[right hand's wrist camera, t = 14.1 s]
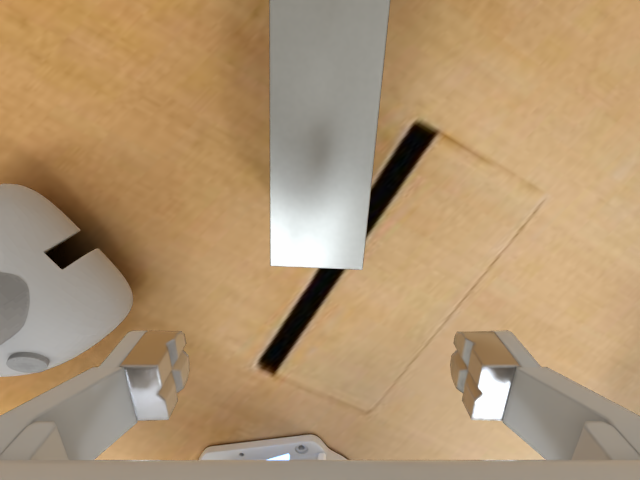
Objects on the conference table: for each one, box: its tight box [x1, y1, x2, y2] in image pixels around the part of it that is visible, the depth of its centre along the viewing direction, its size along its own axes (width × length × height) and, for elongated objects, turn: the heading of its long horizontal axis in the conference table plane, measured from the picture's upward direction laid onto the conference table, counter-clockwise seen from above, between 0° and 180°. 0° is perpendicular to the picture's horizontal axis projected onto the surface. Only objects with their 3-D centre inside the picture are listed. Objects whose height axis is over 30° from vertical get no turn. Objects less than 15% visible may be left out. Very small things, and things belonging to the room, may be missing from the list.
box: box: [269, 0, 390, 270], centre depth 25 cm, size 26×6×11 cm, turn 177°
